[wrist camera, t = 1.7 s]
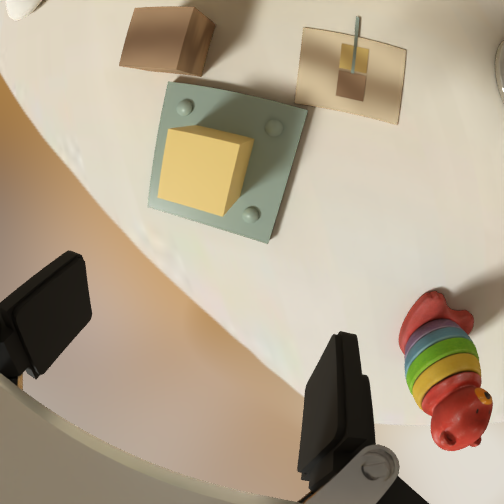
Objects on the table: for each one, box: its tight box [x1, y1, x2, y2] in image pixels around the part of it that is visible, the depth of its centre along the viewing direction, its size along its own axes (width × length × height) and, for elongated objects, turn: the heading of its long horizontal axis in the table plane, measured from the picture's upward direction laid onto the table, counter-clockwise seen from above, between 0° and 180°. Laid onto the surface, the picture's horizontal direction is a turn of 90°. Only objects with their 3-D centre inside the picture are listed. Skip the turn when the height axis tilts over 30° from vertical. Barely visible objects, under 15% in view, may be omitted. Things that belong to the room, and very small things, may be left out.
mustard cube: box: [157, 125, 254, 217], centre depth 25 cm, size 6×6×6 cm
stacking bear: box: [399, 291, 493, 451], centre depth 25 cm, size 11×10×18 cm
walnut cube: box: [119, 7, 216, 77], centre depth 21 cm, size 6×6×6 cm
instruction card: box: [294, 17, 406, 125], centre depth 22 cm, size 10×10×1 cm
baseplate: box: [148, 82, 308, 244], centre depth 28 cm, size 14×14×1 cm
